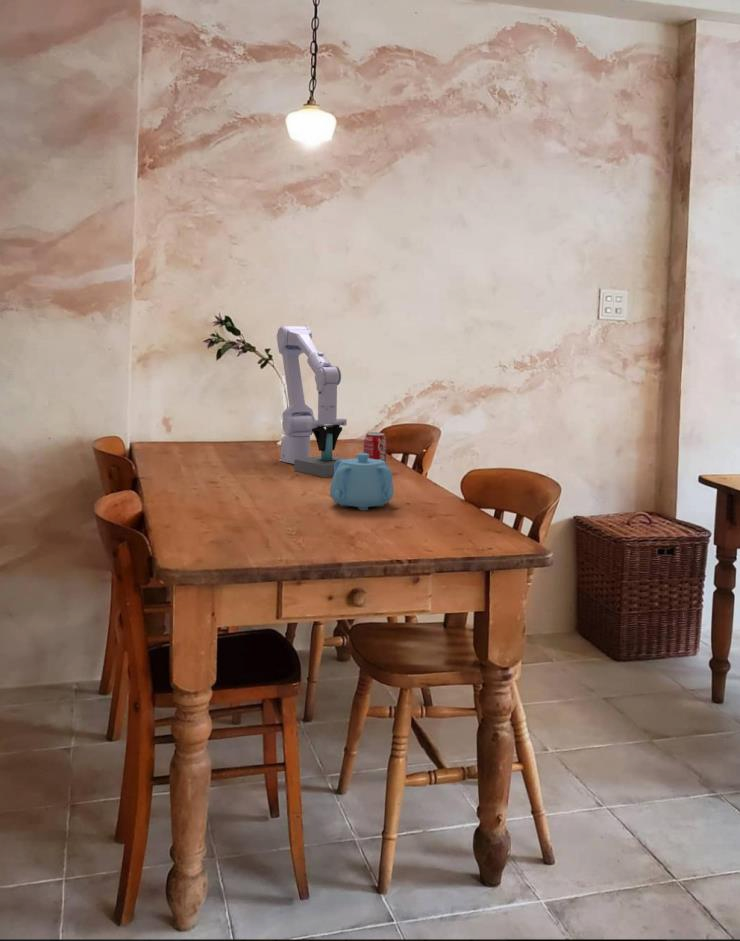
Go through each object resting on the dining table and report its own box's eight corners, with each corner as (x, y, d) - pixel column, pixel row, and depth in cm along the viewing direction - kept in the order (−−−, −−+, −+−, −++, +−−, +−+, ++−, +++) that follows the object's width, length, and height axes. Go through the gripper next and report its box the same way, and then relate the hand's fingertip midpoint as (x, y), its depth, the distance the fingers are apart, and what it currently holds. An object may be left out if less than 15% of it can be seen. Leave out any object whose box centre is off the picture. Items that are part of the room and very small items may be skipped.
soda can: (386, 470, 291) (387, 432, 289) (384, 474, 284) (385, 435, 282) (364, 469, 292) (365, 431, 290) (361, 473, 285) (362, 434, 283)
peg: (318, 459, 285) (319, 433, 284) (327, 458, 288) (327, 432, 286) (326, 461, 283) (326, 435, 282) (334, 459, 285) (335, 434, 284)
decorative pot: (332, 498, 248) (333, 448, 245) (392, 499, 247) (394, 449, 245) (328, 511, 232) (329, 457, 229) (392, 513, 231) (394, 459, 229)
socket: (294, 470, 286) (294, 459, 286) (328, 466, 296) (328, 455, 295) (324, 477, 276) (324, 465, 276) (358, 472, 286) (358, 461, 285)
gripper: (318, 408, 275) (317, 454, 277) (353, 406, 285) (352, 449, 287) (302, 406, 280) (302, 451, 282) (338, 404, 290) (337, 446, 292)
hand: (326, 450), depth 285 cm, fingers closed on peg, 3 cm apart
